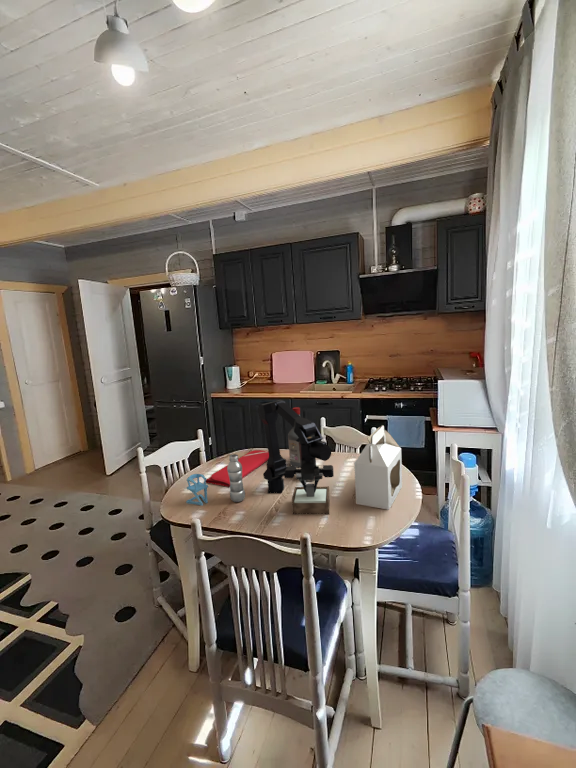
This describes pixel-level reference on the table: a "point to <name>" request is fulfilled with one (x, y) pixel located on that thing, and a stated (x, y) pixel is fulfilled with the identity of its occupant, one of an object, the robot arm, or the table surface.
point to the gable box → (378, 471)
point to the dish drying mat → (248, 465)
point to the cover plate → (311, 499)
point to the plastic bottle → (235, 479)
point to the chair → (197, 489)
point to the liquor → (294, 445)
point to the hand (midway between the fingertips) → (310, 492)
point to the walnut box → (311, 504)
